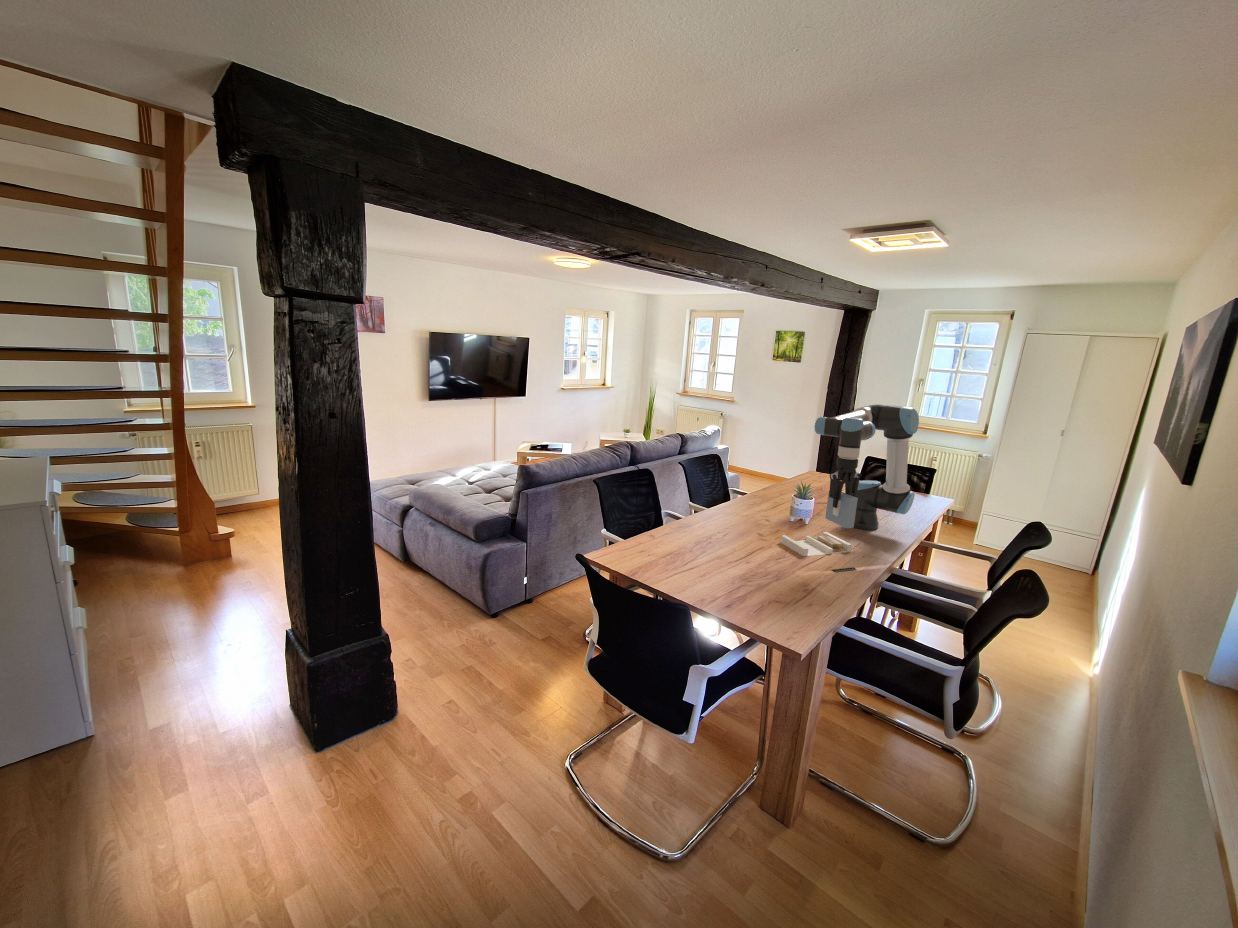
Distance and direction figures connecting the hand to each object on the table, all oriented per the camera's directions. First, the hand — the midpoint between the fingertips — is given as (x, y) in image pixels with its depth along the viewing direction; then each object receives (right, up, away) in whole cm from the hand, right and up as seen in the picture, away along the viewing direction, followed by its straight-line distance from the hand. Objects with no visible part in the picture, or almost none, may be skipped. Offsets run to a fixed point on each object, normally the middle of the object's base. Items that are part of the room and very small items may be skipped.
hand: (840, 514), depth 195 cm
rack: (-2, -17, +20) cm, 26 cm away
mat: (-1, -21, +4) cm, 21 cm away
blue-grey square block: (0, -3, +1) cm, 3 cm away
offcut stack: (+4, -16, +21) cm, 27 cm away
